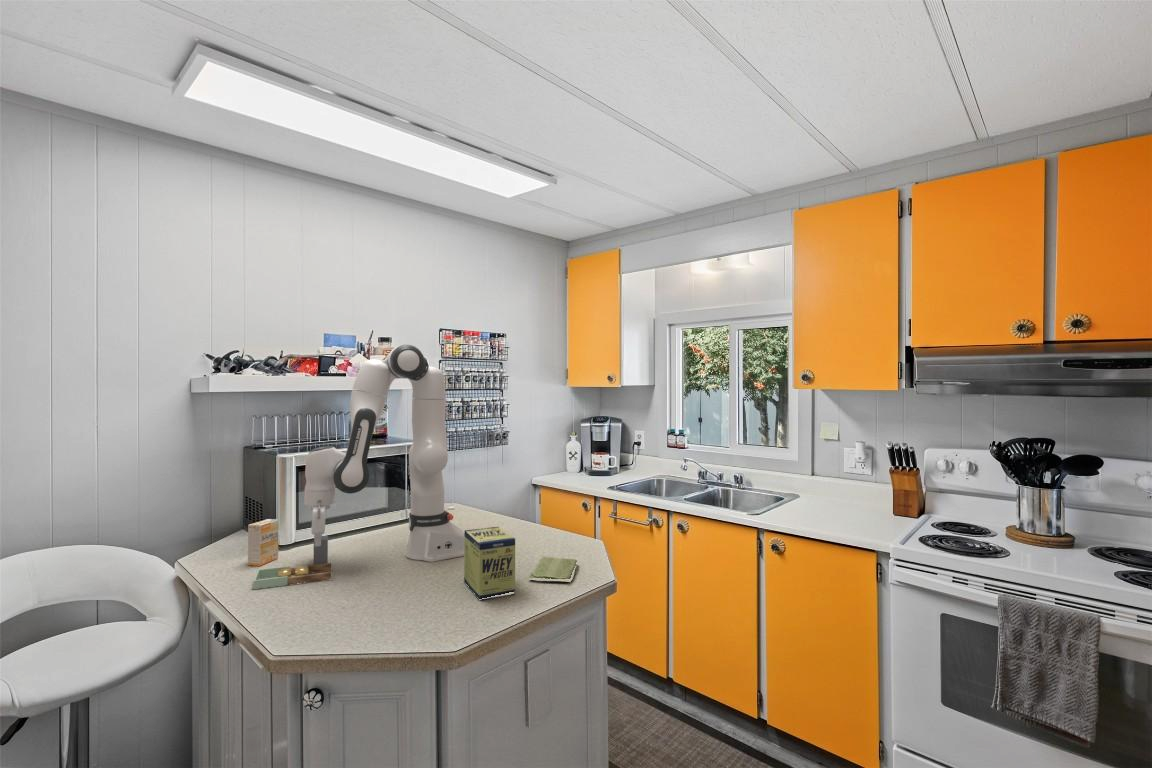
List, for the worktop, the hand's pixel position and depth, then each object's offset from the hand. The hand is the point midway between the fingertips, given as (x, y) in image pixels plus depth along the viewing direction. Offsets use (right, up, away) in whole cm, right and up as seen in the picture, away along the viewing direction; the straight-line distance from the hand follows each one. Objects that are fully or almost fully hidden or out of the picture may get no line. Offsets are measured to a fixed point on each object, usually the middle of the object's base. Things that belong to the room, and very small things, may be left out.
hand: (318, 541), depth 174 cm
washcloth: (+75, -9, -5) cm, 76 cm away
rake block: (+1, -8, 0) cm, 8 cm away
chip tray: (-7, -8, -13) cm, 17 cm away
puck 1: (-4, -8, -12) cm, 15 cm away
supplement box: (-20, -8, +4) cm, 22 cm away
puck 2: (0, -8, -10) cm, 13 cm away
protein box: (+57, -9, -17) cm, 60 cm away
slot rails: (+2, -8, -9) cm, 12 cm away
